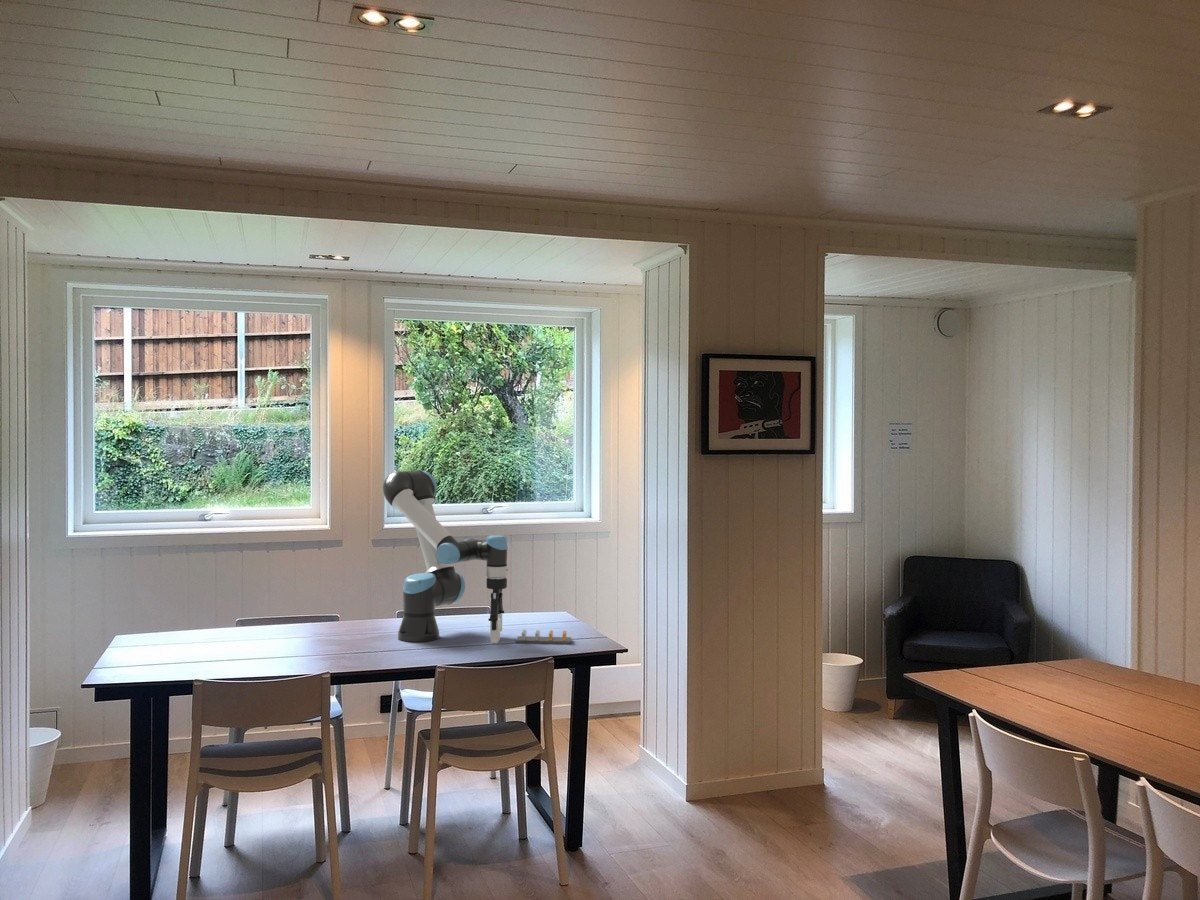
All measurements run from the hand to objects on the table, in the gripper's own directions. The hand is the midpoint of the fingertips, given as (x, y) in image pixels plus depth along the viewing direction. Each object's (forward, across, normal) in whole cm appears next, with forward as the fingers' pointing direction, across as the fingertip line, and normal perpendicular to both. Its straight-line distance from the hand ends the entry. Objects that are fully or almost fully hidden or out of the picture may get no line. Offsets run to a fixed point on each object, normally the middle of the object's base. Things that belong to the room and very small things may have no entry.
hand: (496, 634), depth 348 cm
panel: (+2, 0, 0) cm, 2 cm away
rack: (+2, 0, -18) cm, 18 cm away
